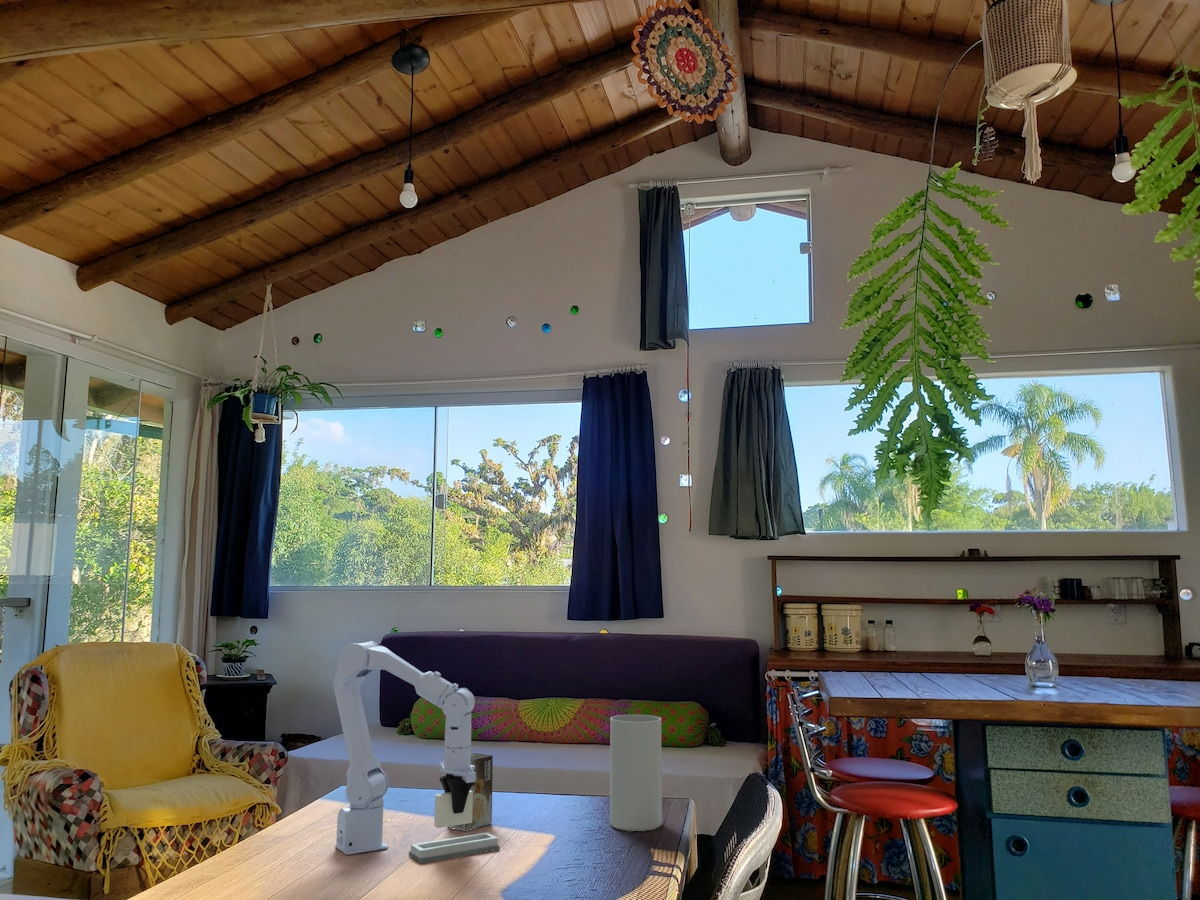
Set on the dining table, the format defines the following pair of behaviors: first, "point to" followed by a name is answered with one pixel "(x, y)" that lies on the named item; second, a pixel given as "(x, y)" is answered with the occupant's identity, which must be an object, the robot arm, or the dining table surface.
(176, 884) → the dining table surface
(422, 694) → the robot arm
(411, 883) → the dining table surface
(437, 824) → the door panel
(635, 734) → the cylinder vase
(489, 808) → the coffee box
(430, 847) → the track base
